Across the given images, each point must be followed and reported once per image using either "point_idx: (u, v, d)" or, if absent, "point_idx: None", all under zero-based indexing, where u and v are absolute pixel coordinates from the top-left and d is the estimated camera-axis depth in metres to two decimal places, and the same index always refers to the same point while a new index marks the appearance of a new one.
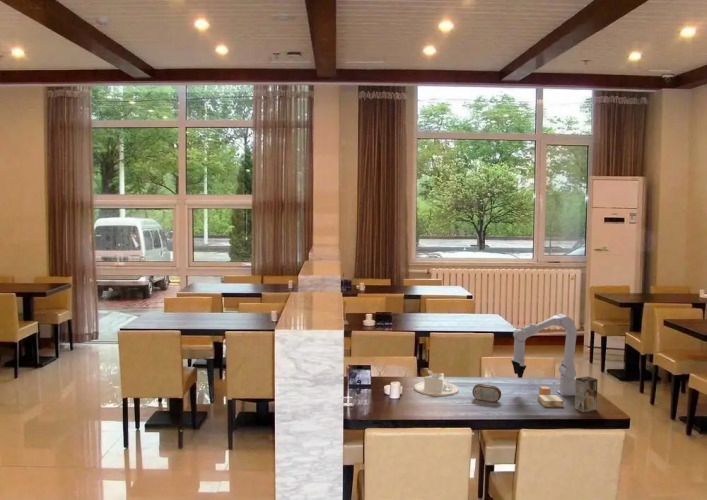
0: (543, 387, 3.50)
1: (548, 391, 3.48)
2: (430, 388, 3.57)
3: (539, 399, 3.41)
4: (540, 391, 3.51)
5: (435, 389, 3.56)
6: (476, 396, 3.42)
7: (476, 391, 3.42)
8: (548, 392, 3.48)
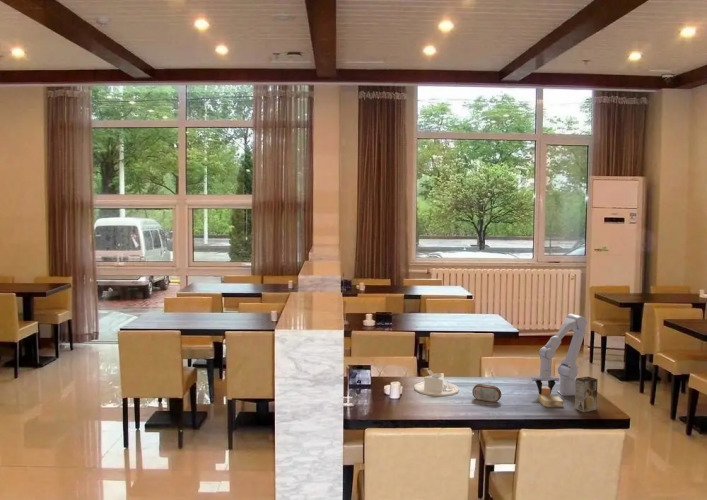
0: (543, 387, 3.50)
1: (548, 391, 3.48)
2: (430, 388, 3.57)
3: (539, 399, 3.41)
4: None
5: (435, 389, 3.56)
6: (476, 396, 3.42)
7: (476, 391, 3.42)
8: (548, 392, 3.48)
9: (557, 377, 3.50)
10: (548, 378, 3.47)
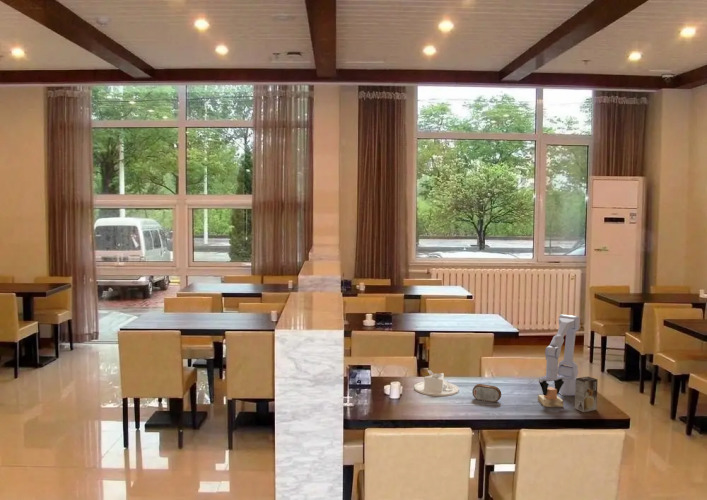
0: (549, 388, 3.38)
1: (555, 392, 3.37)
2: (430, 388, 3.57)
3: (539, 399, 3.41)
4: None
5: (435, 389, 3.56)
6: (476, 396, 3.42)
7: (476, 391, 3.42)
8: (555, 393, 3.37)
9: (562, 376, 3.40)
10: (556, 378, 3.35)
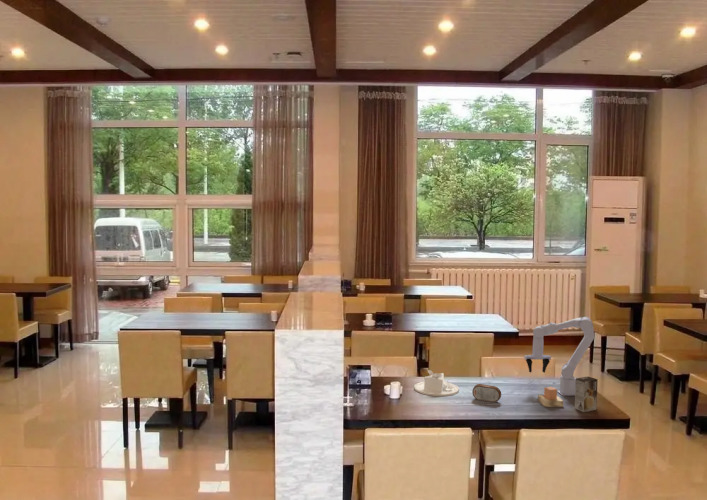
0: (549, 388, 3.38)
1: (555, 392, 3.37)
2: (430, 388, 3.57)
3: (539, 399, 3.41)
4: (546, 392, 3.38)
5: (435, 389, 3.55)
6: (476, 396, 3.42)
7: (476, 391, 3.42)
8: (555, 393, 3.37)
9: (549, 356, 3.60)
10: (540, 356, 3.57)
